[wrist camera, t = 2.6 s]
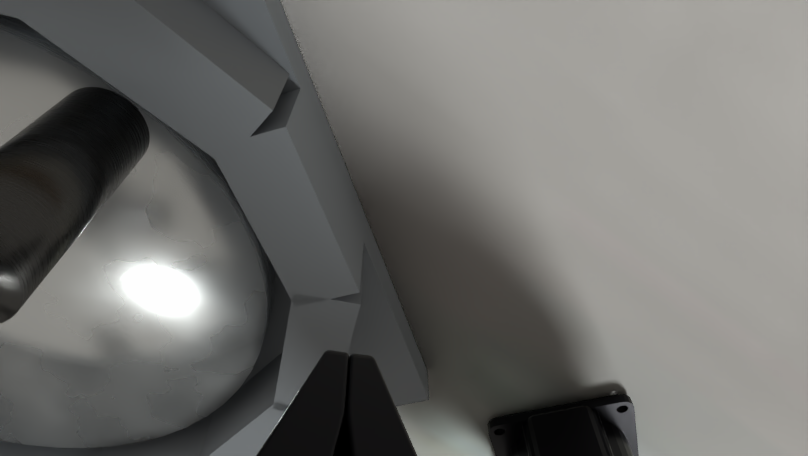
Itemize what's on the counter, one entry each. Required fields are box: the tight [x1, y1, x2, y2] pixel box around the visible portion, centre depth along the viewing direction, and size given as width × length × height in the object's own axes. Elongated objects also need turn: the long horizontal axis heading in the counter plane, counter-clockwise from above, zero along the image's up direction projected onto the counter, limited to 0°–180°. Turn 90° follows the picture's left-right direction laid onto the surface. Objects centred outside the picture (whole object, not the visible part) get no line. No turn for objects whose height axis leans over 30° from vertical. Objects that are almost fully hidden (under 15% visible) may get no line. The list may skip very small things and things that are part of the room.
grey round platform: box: [0, 0, 429, 456], centre depth 18 cm, size 22×22×4 cm
